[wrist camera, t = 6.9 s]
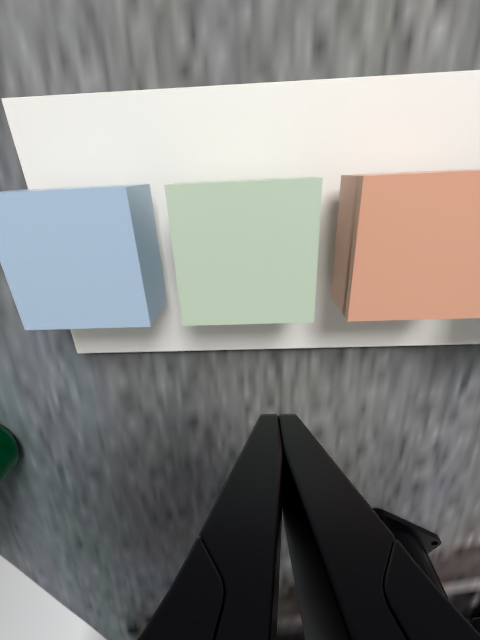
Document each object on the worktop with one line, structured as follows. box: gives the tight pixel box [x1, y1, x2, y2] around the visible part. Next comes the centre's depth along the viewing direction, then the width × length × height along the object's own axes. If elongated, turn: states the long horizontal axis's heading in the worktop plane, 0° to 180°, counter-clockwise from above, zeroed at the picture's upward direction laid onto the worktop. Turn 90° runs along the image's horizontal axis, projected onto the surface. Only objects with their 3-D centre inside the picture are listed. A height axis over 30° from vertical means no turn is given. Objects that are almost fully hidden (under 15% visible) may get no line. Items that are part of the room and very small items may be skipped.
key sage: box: [164, 176, 323, 326], centre depth 13 cm, size 5×5×3 cm
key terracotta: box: [331, 169, 480, 322], centre depth 13 cm, size 5×5×3 cm
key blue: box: [0, 184, 167, 330], centre depth 13 cm, size 5×5×3 cm
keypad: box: [1, 70, 480, 353], centre depth 14 cm, size 26×12×4 cm, turn 92°
